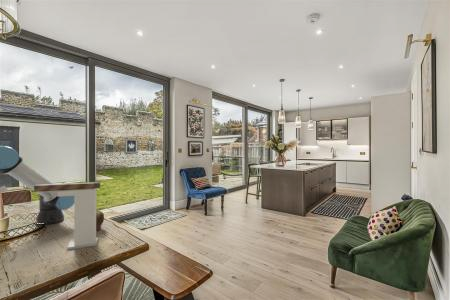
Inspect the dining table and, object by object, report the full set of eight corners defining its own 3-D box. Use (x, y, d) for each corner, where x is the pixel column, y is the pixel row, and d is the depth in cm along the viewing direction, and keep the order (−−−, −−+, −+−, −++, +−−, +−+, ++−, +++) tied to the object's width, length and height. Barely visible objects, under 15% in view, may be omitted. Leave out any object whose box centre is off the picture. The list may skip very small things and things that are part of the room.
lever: (34, 191, 109) (34, 185, 109) (36, 190, 112) (36, 184, 112) (99, 188, 120) (99, 182, 120) (100, 187, 123) (100, 182, 123)
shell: (94, 234, 132) (94, 214, 132) (79, 232, 134) (79, 212, 134) (107, 227, 143) (108, 209, 143) (93, 226, 145) (93, 207, 145)
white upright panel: (57, 251, 111) (57, 191, 111) (61, 244, 119) (61, 188, 118) (96, 245, 118) (96, 189, 117) (98, 239, 126) (98, 186, 125)
